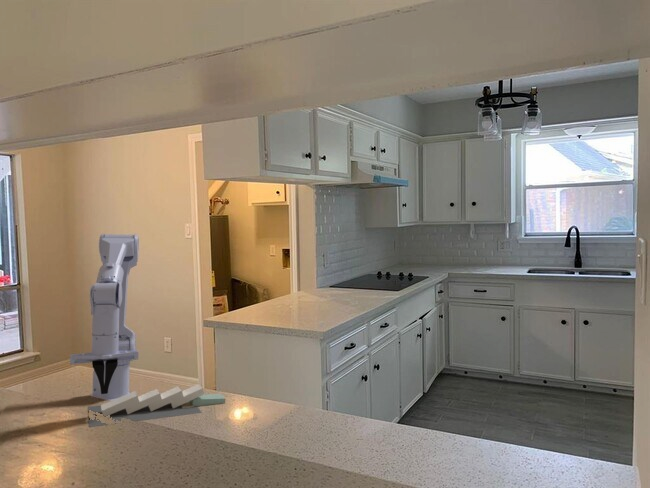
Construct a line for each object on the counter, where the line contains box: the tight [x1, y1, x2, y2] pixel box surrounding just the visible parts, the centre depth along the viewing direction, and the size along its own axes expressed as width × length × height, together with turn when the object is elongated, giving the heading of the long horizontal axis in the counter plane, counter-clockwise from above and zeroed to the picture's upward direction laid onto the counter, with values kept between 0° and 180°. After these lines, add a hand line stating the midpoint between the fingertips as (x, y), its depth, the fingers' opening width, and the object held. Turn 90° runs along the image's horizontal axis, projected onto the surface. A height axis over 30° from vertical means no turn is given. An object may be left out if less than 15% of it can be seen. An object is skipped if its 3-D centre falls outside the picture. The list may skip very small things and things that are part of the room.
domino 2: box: [126, 388, 162, 414], centre depth 119 cm, size 2×5×8 cm
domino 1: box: [100, 390, 139, 417], centre depth 116 cm, size 2×5×8 cm
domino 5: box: [190, 393, 227, 407], centre depth 125 cm, size 2×5×8 cm
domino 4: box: [170, 383, 205, 408], centre depth 123 cm, size 2×5×8 cm
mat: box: [87, 401, 203, 428], centre depth 119 cm, size 24×17×1 cm
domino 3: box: [148, 386, 184, 411], centre depth 121 cm, size 2×5×8 cm
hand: (104, 392), depth 115 cm, fingers closed
